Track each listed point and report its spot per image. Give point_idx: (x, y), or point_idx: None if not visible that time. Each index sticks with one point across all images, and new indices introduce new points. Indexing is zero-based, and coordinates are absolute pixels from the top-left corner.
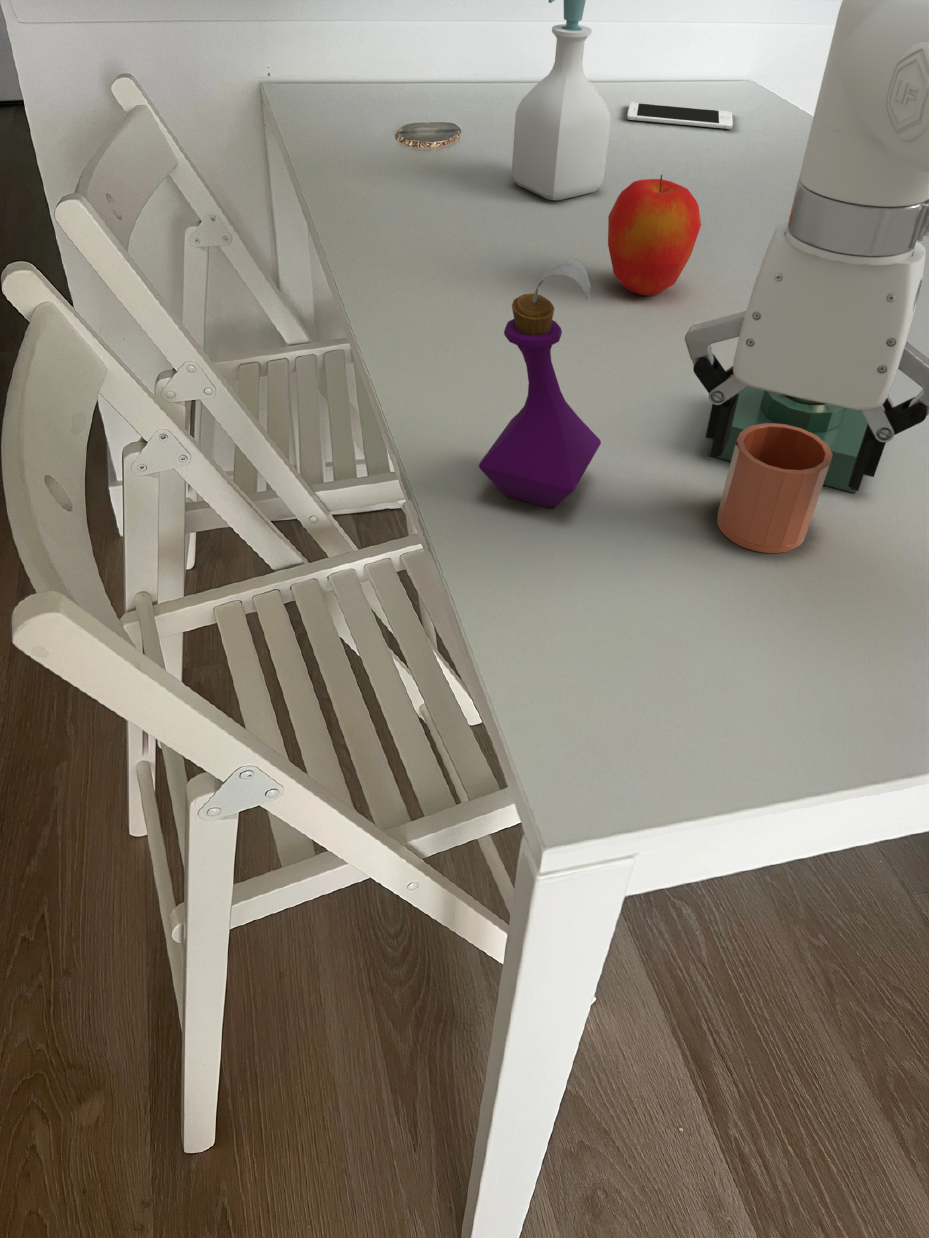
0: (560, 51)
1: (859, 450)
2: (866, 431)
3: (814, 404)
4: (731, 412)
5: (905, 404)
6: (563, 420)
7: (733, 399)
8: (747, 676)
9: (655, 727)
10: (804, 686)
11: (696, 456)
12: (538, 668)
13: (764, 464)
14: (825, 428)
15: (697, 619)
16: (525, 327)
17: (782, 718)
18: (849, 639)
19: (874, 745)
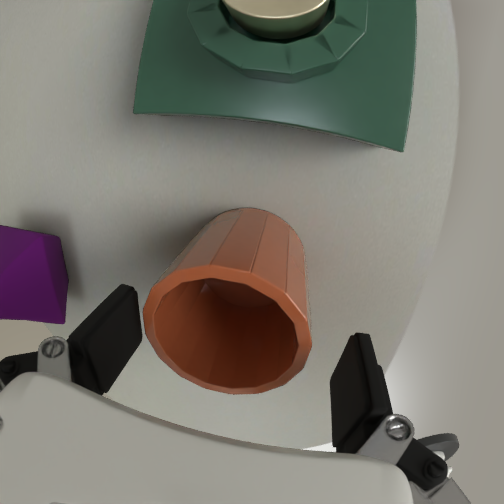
0: None
1: (345, 395)
2: (347, 433)
3: (297, 34)
4: (106, 377)
5: (410, 476)
6: (7, 313)
7: (90, 365)
8: (252, 416)
9: None
10: (289, 417)
11: (148, 123)
12: (142, 409)
13: (200, 382)
14: (329, 71)
15: None
16: None
17: (274, 431)
18: (329, 385)
19: (324, 435)
